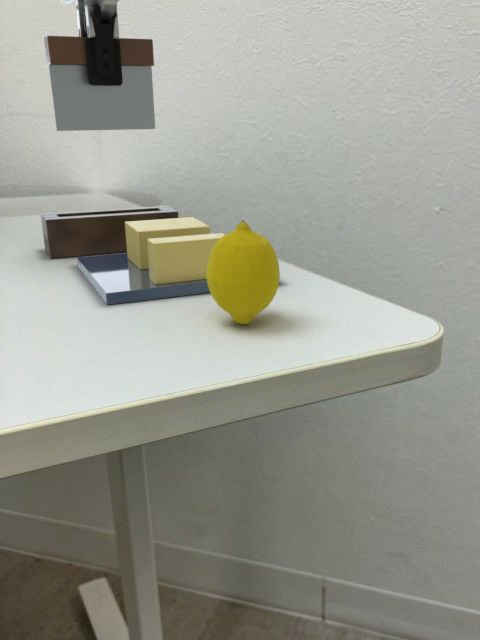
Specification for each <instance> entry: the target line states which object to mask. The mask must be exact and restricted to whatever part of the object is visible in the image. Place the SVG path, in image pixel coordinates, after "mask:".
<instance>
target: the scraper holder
mask: <svg viewBox="0 0 480 640" xmlns="http://www.w3.org/2000/svg"><path fill="white" fill-rule="evenodd" d="M171 218H179V211H178V210H176V209H175V208H173V207H172V206H171V207H170V206H169V205H155V206H138V207H124V208H123V207H122V208H106V209H89V210H88V209H87V210H72V211H57V212H56V211H55V212H40V221H41V227H42V236H43V244H44V250H45V252H46V253H47V255H48V257H49V258H50V259H63V258H71V257H87V256H98V255H109V254H121V253H127V245H126V232H125V222H128V221H142V220H157V219H171Z"/></svg>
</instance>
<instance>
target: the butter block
mask: <svg viewBox="0 0 480 640" xmlns="http://www.w3.org/2000/svg"><path fill="white" fill-rule="evenodd" d="M125 232H126V245H127V252H126V253H127V257H128V259H129V260H131V261H132V262H133V263H134V264H135V265H136V266H137V267H138V268H139V269H140V270H146V269H149V261H148V245H147V239H153V238H165V237H178V236H190V235H202V234H211V226H210V225H208V224H206V223H205V222H203V221H201V220H200V219H197V218H195V217H194V216H191V217H190V216H186V217H178V218H171V219H157V220H142V221H128V222H125Z"/></svg>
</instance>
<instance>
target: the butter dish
mask: <svg viewBox="0 0 480 640" xmlns="http://www.w3.org/2000/svg"><path fill="white" fill-rule="evenodd" d="M76 259H77V267H78V269H79V270H80V272H81V273H82V274H83V276H84V277H85V278H86V279H87V280H88V282H89V283H90V284H91V286H92V287H93V288H94V290H95V291H96V292H97V294H98V295H99V296H100V297H101V299H102V300H103V302H104V303H105V304H106V305H109V306H110V305H116V304H117V305H119V304H125V303H134V302H142V301H150V300H158V299H159V300H160V299H166V298H175V297H176V298H177V297H185V296H192V295H193V296H194V295H202V294H209V293H210V291H209V287H208V284H207V279H203V280H194V281H185V282H176V283H167V284H158V285H156V284H155V283H154V282H153V281H152V280H150V276H149V269H146V270H140V269H139V268H138V267H137V266H136V265H135V264H134V263H133V262H132V261H131V260H129V259H128V257H127V252H123V253H112V254H100V255H89V256H77V257H76ZM210 294H211V293H210Z"/></svg>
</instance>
